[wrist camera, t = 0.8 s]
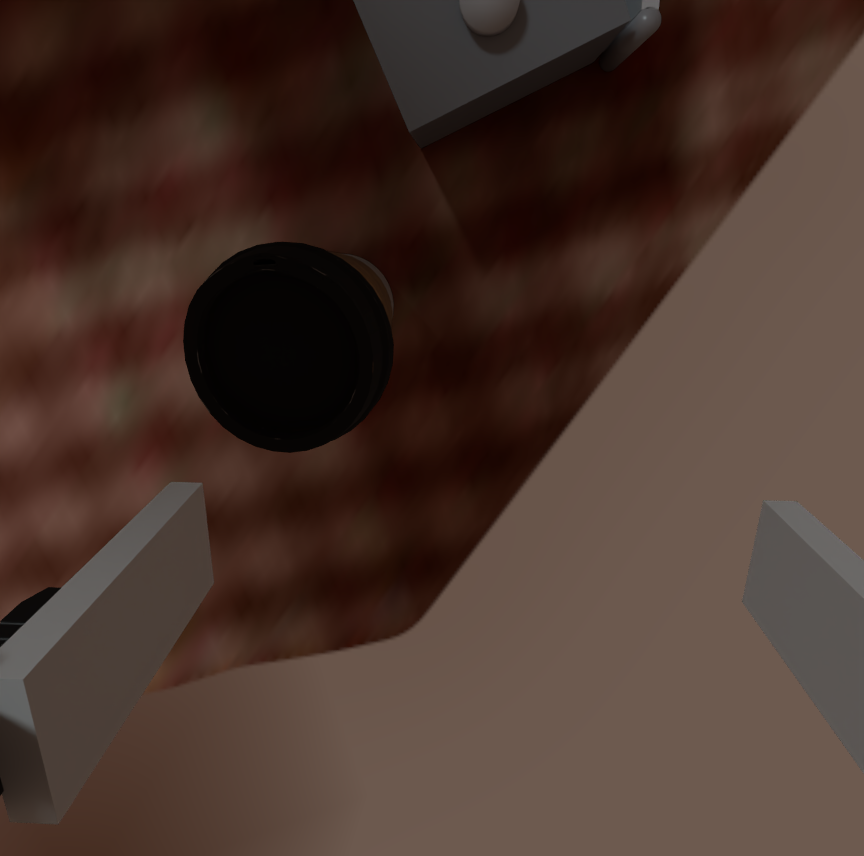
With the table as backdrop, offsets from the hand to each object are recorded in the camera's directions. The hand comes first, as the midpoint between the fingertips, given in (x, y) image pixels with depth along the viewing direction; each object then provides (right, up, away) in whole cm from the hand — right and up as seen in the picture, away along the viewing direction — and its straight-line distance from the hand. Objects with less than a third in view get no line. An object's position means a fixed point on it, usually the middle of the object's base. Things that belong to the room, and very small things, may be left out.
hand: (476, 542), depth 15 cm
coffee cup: (-6, +10, +23) cm, 26 cm away
